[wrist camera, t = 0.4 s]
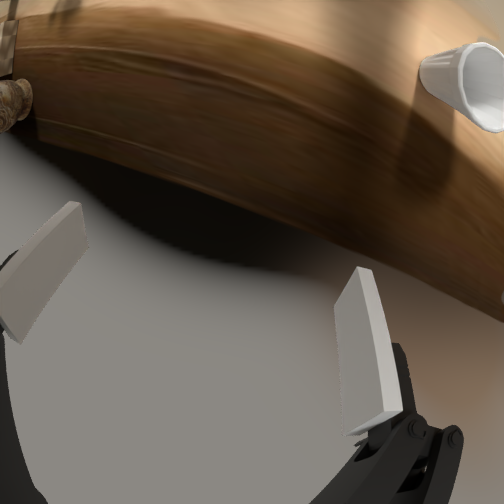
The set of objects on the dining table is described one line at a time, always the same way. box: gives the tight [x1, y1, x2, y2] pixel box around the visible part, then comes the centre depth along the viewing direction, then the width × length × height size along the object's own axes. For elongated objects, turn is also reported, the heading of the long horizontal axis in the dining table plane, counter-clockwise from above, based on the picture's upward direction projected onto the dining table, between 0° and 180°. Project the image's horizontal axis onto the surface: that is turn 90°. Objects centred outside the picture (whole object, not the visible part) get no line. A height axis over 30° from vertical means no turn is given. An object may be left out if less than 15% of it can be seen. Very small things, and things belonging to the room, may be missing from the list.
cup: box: [419, 42, 504, 133], centre depth 19 cm, size 10×10×13 cm
